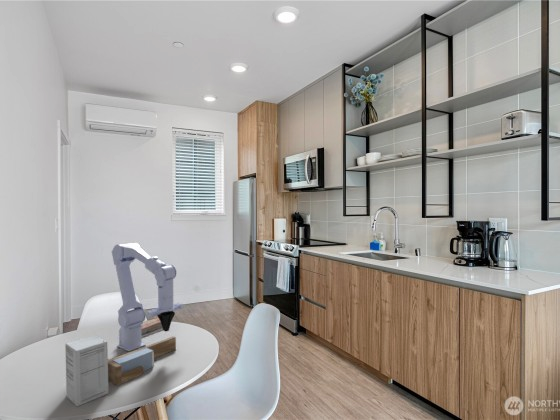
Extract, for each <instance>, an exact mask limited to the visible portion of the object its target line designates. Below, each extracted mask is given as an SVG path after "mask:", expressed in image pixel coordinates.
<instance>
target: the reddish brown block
mask: <svg viewBox="0 0 560 420" xmlns="http://www.w3.org/2000/svg"><path fill="white" fill-rule="evenodd" d="M160 331H163V328H162V324H161V322H160V319H159V318H158V317H156V318H151V319H150V320H146V321H143V324H141V337H142V339H143V338H145V337H147V336H150V335H151V336H152V335H153V334H156V333H159V332H160Z"/></svg>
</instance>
